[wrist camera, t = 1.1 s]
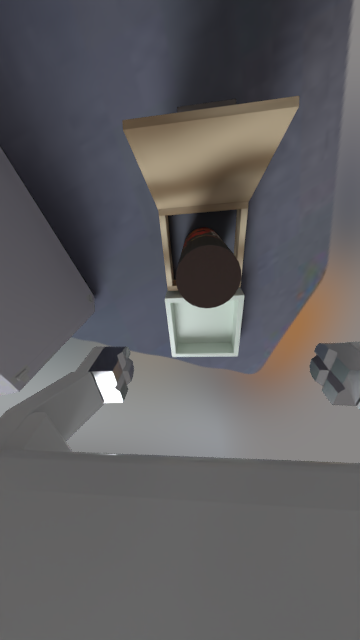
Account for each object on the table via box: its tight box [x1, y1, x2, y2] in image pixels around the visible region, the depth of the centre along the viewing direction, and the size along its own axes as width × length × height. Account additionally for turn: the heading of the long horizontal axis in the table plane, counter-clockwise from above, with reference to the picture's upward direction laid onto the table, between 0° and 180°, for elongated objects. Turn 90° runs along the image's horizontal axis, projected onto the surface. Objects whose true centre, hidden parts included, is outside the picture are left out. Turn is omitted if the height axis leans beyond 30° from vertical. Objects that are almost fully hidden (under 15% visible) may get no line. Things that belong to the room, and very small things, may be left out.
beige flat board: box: [123, 96, 299, 209], centre depth 18 cm, size 12×12×1 cm
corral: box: [158, 201, 249, 291], centre depth 28 cm, size 12×12×3 cm
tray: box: [165, 288, 244, 357], centre depth 35 cm, size 13×13×4 cm
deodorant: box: [176, 227, 241, 308], centre depth 23 cm, size 6×6×15 cm
